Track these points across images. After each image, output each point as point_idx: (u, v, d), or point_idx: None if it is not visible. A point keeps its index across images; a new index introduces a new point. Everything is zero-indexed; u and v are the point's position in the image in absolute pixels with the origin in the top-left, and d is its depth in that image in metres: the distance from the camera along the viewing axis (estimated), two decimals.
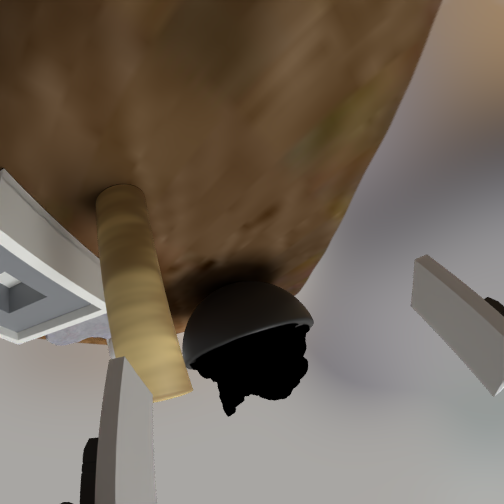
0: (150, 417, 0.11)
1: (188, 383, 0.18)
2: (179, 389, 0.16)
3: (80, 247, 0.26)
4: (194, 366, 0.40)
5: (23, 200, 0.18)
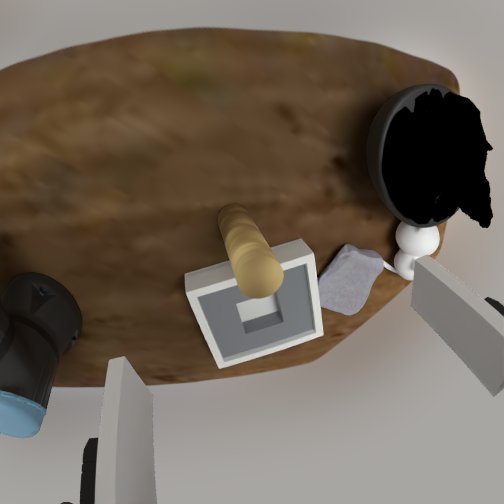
0: (150, 417, 0.11)
1: (253, 257, 0.28)
2: (243, 266, 0.28)
3: None
4: None
5: (203, 271, 0.44)
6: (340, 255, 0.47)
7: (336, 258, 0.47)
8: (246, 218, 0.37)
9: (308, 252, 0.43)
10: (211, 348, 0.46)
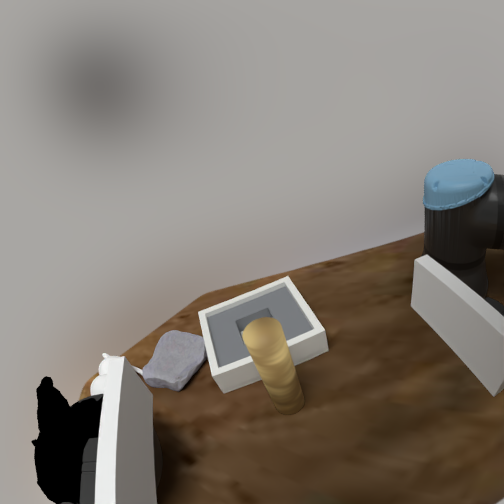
0: (150, 417, 0.11)
1: (270, 346, 0.31)
2: (277, 338, 0.32)
3: (260, 377, 0.46)
4: None
5: (311, 354, 0.46)
6: (185, 379, 0.47)
7: (188, 376, 0.48)
8: (278, 396, 0.37)
9: (217, 377, 0.43)
10: (296, 291, 0.54)
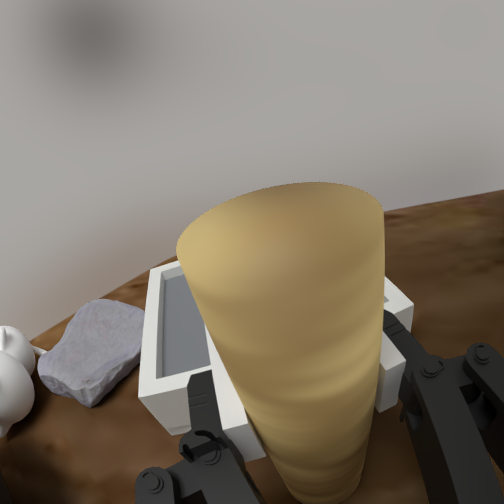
0: None
1: (331, 285, 0.05)
2: (375, 239, 0.05)
3: None
4: None
5: None
6: (98, 385, 0.21)
7: (106, 381, 0.22)
8: (305, 483, 0.10)
9: (150, 401, 0.17)
10: None
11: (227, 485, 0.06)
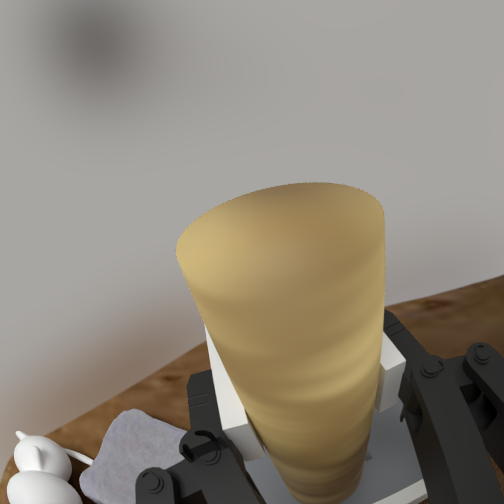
0: None
1: (331, 286, 0.05)
2: (375, 240, 0.05)
3: None
4: None
5: (425, 498, 0.15)
6: None
7: None
8: (306, 483, 0.10)
9: None
10: None
11: (227, 485, 0.06)
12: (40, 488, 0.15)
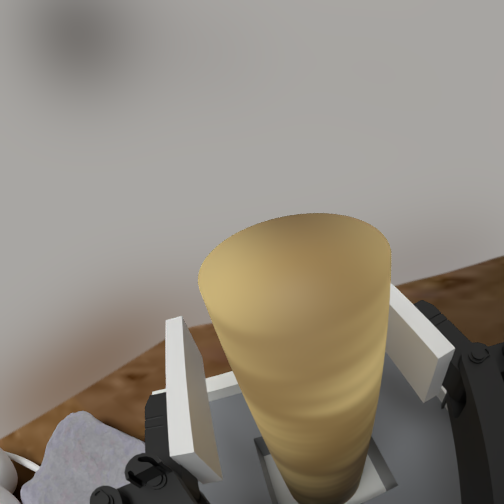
0: (203, 377, 0.13)
1: (343, 324, 0.05)
2: (383, 281, 0.06)
3: None
4: None
5: None
6: None
7: None
8: (309, 488, 0.10)
9: None
10: None
11: None
12: None
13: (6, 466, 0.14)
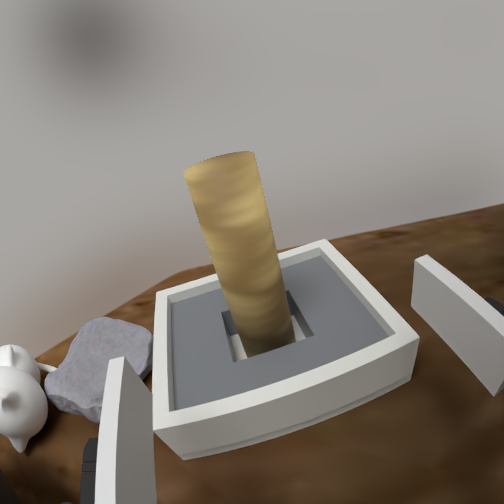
0: (150, 417, 0.11)
1: (228, 174, 0.16)
2: (244, 162, 0.17)
3: (265, 437, 0.19)
4: None
5: (379, 389, 0.19)
6: None
7: None
8: (246, 317, 0.21)
9: (164, 433, 0.16)
10: (345, 261, 0.27)
11: None
12: (9, 374, 0.20)
13: (34, 365, 0.25)
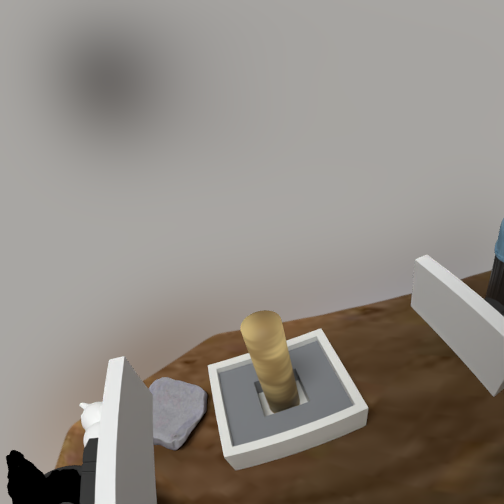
0: (150, 417, 0.11)
1: (268, 339, 0.31)
2: (276, 332, 0.31)
3: (282, 456, 0.33)
4: None
5: (346, 430, 0.34)
6: (184, 438, 0.36)
7: (187, 434, 0.37)
8: (272, 394, 0.36)
9: (230, 457, 0.31)
10: (332, 350, 0.41)
11: None
12: None
13: None
